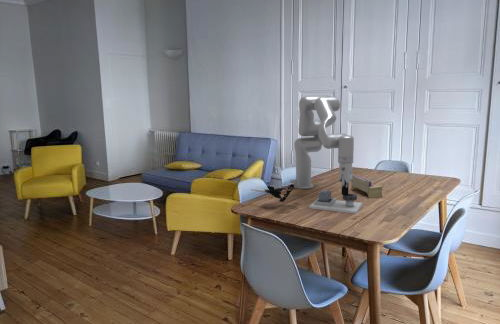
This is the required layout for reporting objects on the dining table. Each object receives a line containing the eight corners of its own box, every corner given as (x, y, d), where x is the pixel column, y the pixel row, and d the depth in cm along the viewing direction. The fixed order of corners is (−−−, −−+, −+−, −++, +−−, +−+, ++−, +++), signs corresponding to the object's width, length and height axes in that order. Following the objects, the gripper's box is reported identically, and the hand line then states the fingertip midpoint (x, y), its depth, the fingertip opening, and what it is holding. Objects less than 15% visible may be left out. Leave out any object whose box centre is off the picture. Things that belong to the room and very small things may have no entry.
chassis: (309, 208, 201) (309, 197, 200) (318, 200, 215) (318, 190, 214) (356, 213, 190) (356, 202, 189) (362, 205, 204) (362, 194, 203)
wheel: (341, 200, 197) (341, 196, 197) (344, 196, 203) (344, 193, 203) (355, 201, 194) (355, 197, 194) (357, 198, 200) (357, 194, 200)
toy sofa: (382, 197, 219) (383, 179, 217) (369, 198, 217) (369, 181, 215) (362, 188, 239) (363, 172, 237) (350, 190, 237) (350, 173, 235)
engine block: (318, 204, 204) (318, 191, 202) (321, 201, 209) (321, 189, 208) (327, 205, 201) (328, 192, 200) (330, 202, 207) (331, 189, 205)
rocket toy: (283, 191, 192) (243, 186, 203) (283, 203, 193) (243, 198, 204) (294, 184, 204) (256, 180, 215) (294, 196, 205) (256, 191, 216)
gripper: (349, 162, 188) (348, 199, 191) (356, 157, 201) (355, 191, 204) (334, 161, 191) (334, 197, 194) (341, 157, 204) (341, 190, 207)
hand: (344, 194), depth 199 cm, fingers closed
